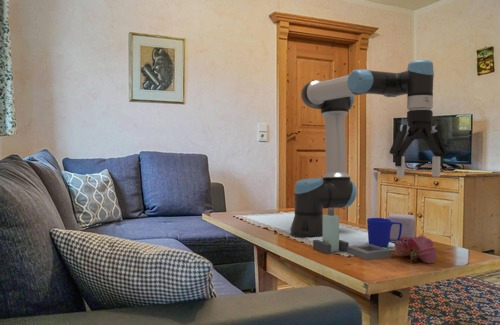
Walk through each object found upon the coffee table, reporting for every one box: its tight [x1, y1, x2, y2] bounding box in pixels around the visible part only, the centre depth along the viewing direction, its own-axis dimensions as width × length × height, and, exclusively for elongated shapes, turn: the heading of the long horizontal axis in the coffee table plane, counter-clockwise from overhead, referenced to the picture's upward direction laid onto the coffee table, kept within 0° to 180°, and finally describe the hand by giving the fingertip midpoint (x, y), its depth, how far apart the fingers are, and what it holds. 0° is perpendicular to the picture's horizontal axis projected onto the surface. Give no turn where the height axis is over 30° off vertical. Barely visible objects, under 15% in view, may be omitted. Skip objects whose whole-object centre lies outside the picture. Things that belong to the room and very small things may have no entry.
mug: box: [366, 217, 402, 249], centre depth 142 cm, size 8×12×10 cm
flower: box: [393, 235, 437, 264], centre depth 124 cm, size 11×10×10 cm
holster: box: [312, 239, 350, 255], centre depth 135 cm, size 8×9×4 cm
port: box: [346, 243, 393, 261], centre depth 129 cm, size 10×10×3 cm
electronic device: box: [386, 213, 416, 241], centre depth 153 cm, size 10×5×10 cm, turn 63°
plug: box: [321, 208, 340, 252], centre depth 135 cm, size 4×4×14 cm
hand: (418, 176), depth 125 cm, fingers open, 13 cm apart
